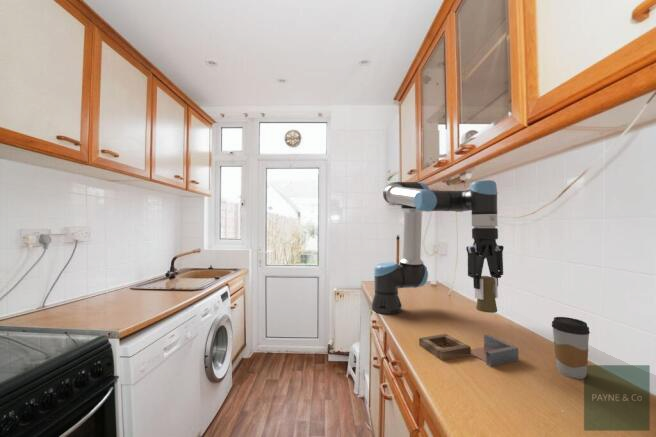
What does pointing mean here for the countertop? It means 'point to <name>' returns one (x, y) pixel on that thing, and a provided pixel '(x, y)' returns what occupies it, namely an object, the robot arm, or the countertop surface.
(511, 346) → the corner cradle
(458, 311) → the countertop surface
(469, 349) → the socket block
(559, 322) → the coffee cup
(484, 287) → the olive stamp handle
